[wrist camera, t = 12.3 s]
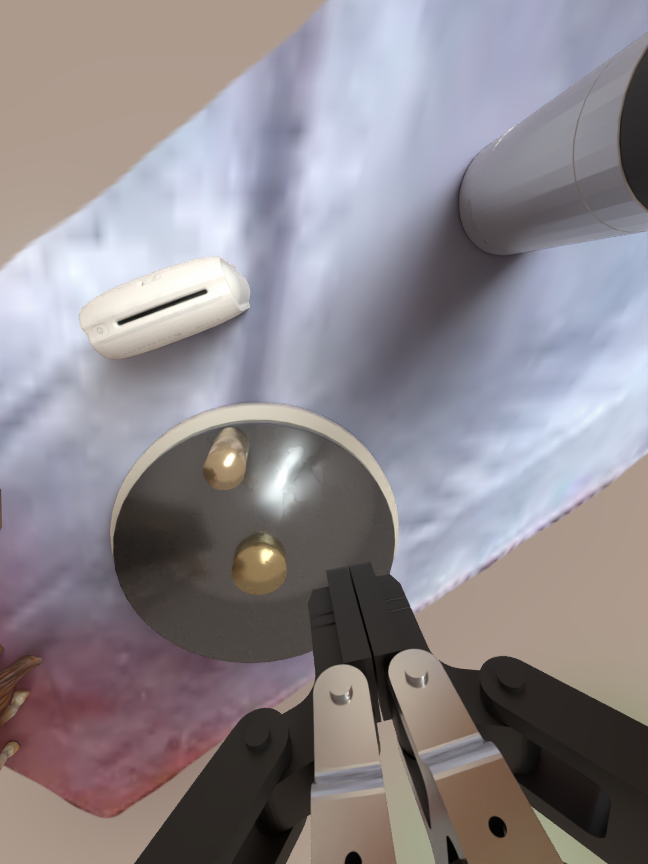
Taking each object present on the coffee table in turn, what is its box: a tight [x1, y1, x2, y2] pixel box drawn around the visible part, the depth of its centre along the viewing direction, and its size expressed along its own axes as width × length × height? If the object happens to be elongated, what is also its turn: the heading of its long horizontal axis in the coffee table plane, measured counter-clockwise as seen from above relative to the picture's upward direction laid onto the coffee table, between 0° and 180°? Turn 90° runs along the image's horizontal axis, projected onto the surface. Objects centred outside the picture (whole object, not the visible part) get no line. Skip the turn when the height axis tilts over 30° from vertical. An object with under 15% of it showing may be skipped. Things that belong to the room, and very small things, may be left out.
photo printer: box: [79, 257, 250, 359], centre depth 29 cm, size 10×4×12 cm, turn 109°
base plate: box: [110, 402, 399, 560], centre depth 42 cm, size 29×29×2 cm
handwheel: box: [113, 420, 395, 663], centre depth 37 cm, size 27×27×8 cm
